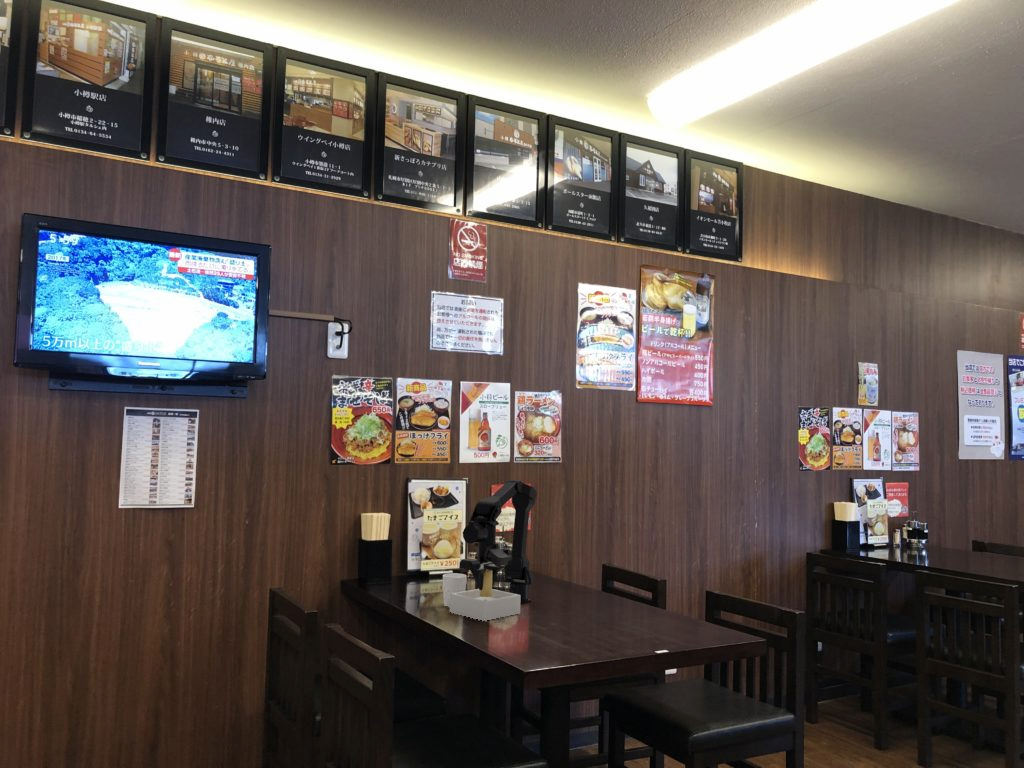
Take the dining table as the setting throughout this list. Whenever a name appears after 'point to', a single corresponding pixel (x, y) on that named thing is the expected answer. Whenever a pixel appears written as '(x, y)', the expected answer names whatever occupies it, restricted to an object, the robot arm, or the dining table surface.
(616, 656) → the dining table surface
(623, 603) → the dining table surface
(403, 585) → the dining table surface
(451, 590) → the white cup
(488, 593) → the peg
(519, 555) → the robot arm
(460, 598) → the socket box
